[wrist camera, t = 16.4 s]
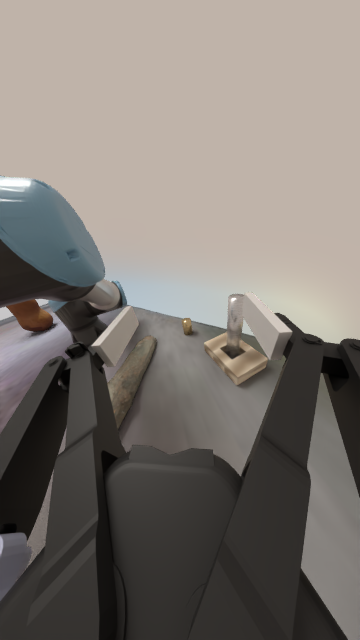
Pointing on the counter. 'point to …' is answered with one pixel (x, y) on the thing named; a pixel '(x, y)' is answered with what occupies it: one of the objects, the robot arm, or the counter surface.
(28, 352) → the counter surface
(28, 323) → the butternut squash
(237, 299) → the steel pin
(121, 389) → the elongated rock
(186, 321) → the brass stub pin
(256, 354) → the guide block
